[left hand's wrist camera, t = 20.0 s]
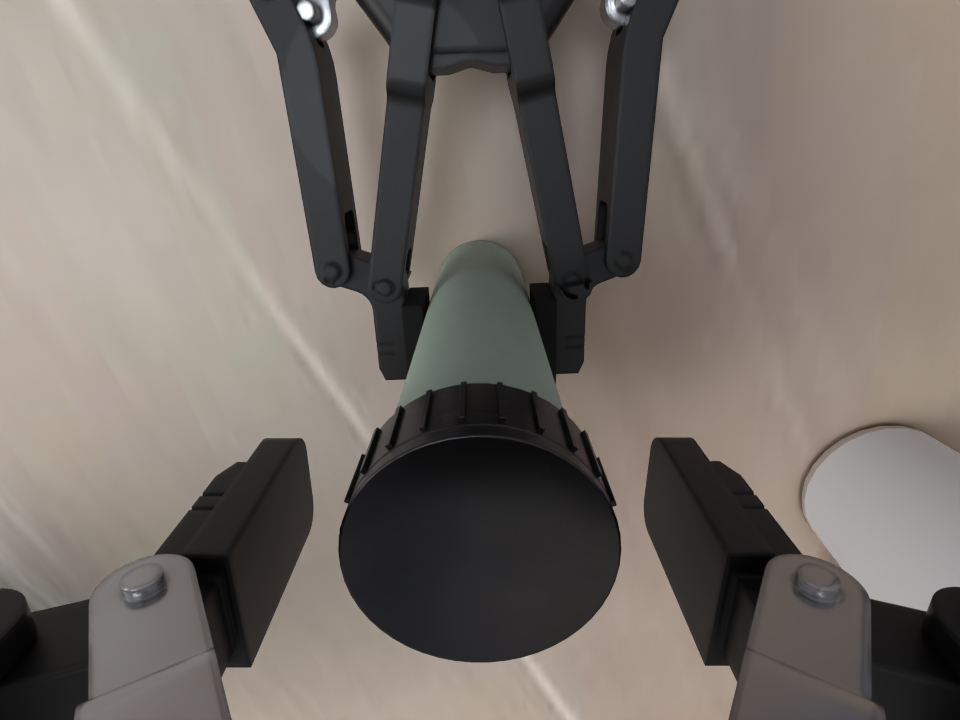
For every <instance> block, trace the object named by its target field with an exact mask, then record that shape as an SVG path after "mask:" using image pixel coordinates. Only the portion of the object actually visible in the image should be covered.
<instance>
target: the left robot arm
mask: <svg viewBox="0 0 960 720" xmlns="http://www.w3.org/2000/svg"><path fill="white" fill-rule="evenodd" d="M644 517H645V523H646V528H647V531H648V533H649V536H650V538H651V540H652V543H653V545H654V547H655V550H656V552H657V554H658V557H659V559H660V561H661V564H662V566H663V568H664V571H665V573H666V575H667V578H668V580H669V582H670V585H671V587H672V589H673V592H674V594H675V596H676V599H677V601H678V603H679V606H680V608H681V610H682V613H683V615H684V617H685V620H686V622H687V624H688V627H689V629H690V632H691V634H692V636H693V639H694V641H695V643H696V646H697V648H698V650H699V653H700V655H701V657H702V660H703V662H704V664H705V666H730V668H731V670H732V672H733V674H734V676H735V678H736V680H737V682H738V683H737V687H736V691H735V695H734V699H733V703H732V707H731V712H730V716H729V720H960V587H946V588H942V589H940V590H938V591H936V592H935V593H934V595H933V596H932V599H931V602H930V604H929V607H928V610H927V611H922V610H918V609H913V608H909V607H905V606H900V605H896V604H891V603H887V602H882V601H878V600H874V599H870V598H869V595H868V593H867V592H866V590H865V589H864V587H863V586H862V585H861V584H860V583H859V582H858V581H857V580H856V579H855V578H854V577H853V576H851V575H850V574H849V573H847V572H846V571H844V570H843V569H841V568H839V567H837V566H836V565H833V564H831V563H829V562H827V561H824V560H822V559H819V558H815V557H812V556H807V555H802V554H801V552H800V551H799V550H798V549H797V547H796V546H795V545H794V543H793V542H792V541H791V540H790V538H789V537H788V536H787V534H786V533H785V532H784V531H783V529H782V528H781V527H780V525H779V524H778V523H777V521H776V520H775V519H774V518H773V516H772V515H771V514H770V512H769V511H768V510H767V509H764V505H763V503H762V502H761V501H760V500H759V498H758V497H757V496H756V495H754V492H753V491H752V489H751V488H750V487H749V485H748V484H747V483H746V482H745V480H744V479H743V478H742V476H741V475H739V474H738V473H736V472H735V471H733V470H732V469H730V468H729V467H727V466H726V465H724V464H723V463H721V462H720V461H709V459H708V458H707V457H706V455H705V454H704V452H703V451H702V450H701V448H700V447H699V445H698V444H697V443H696V441H695V440H694V439H693V438H655V439H654V440H653V442H652V445H651V450H650V458H649V466H648V473H647V481H646V489H645V497H644ZM312 520H313V496H312V488H311V481H310V473H309V465H308V458H307V450H306V445H305V442H304V441H303V439H301V438H266V439H264V440H263V441H262V442H261V443H260V445H259V446H258V447H257V449H256V450H255V451H254V453H253V454H252V456H251V457H250V458H249V460H248V461H247V462H237V463H235V464H234V465H232V466H231V467H229V468H228V469H226V470H225V471H223V472H222V473H220V474H219V475H217V476H216V477H215V478H214V479H213V481H212V482H211V483H210V484H209V486H208V487H207V488H206V490H205V491H204V492H203V496H200V497H199V498H198V500H197V501H196V502H195V504H194V505H193V506H192V510H189V511H188V512H187V514H186V515H185V516H184V518H183V519H182V520H181V521H180V523H179V524H178V525H177V527H176V528H175V529H174V530H173V532H172V533H171V534H170V535H169V537H168V538H167V539H166V541H165V542H164V543H163V544H162V546H161V547H160V548H159V550H158V551H157V552H156V553H155V555H153V556H148V557H145V558H141V559H138V560H136V561H133V562H131V563H129V564H127V565H124V566H123V567H121V568H119V569H117V570H116V571H114V572H113V573H111V574H110V575H109V576H107V577H106V578H105V579H104V580H103V581H102V582H101V583H100V584H99V585H98V586H97V587H96V589H95V590H94V592H93V593H92V595H91V598H90V599H88V600H84V601H80V602H76V603H72V604H67V605H63V606H58V607H54V608H49V609H45V610H40V611H36V612H32V613H31V612H30V609H29V606H28V604H27V601H26V599H25V597H24V595H23V594H22V593H20V592H18V591H16V590H12V589H0V720H231V716H230V712H229V707H228V703H227V699H226V695H225V691H224V687H223V683H222V678H221V677H222V675H223V673H224V671H225V669H226V667H251V666H252V664H253V661H254V659H255V657H256V655H257V652H258V650H259V648H260V645H261V643H262V641H263V638H264V636H265V634H266V631H267V629H268V627H269V625H270V622H271V620H272V618H273V615H274V613H275V611H276V608H277V606H278V604H279V602H280V599H281V597H282V595H283V592H284V590H285V588H286V585H287V583H288V581H289V578H290V576H291V574H292V572H293V569H294V567H295V565H296V562H297V560H298V558H299V555H300V553H301V551H302V549H303V546H304V544H305V542H306V539H307V537H308V535H309V532H310V529H311V525H312Z"/></svg>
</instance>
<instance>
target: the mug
mask: <svg viewBox="0 0 960 720" xmlns="http://www.w3.org/2000/svg"><path fill="white" fill-rule="evenodd" d="M802 508H803V514H804V516H805V518H806V520H807V522H808V524H809V526H810V527H811V528H812V530H813V531H814V532H815V534H816V535H817V536H818V538H819V539H820V540H821V542H822V543H823V544H824V546H825V547H826V548H827V550H828V551H829V552H830V553H831V555H832V556H833V557H834V559H835V560H836V561H837V563H838V564H839V565H840V567H841V568H842V569H843V570H844V571H846V572H847V573H849V574H850V575H851V576H853V577H854V578H855V579H856V580H857V581H858V582H859V583H860V584H861V585H862V586H863V587H864V589H865V590H866V592H867V593H868V595H869V598H870V599H874V600H878V601H882V602H887V603H891V604H896V605H900V606H905V607H909V608H913V609H918V610H922V611H927V610H928V607H929V604H930V602H931V599H932V596H933V595H934V593H935V592H936V591H938V590H940V589H942V588H946V587H960V453H958V452H956V451H955V450H953V449H951V448H949V447H948V446H946V445H944V444H943V443H941V442H939V441H938V440H936V439H934V438H933V437H931V436H929V435H928V434H926V433H924V432H922V431H921V430H918V429H914V428H909V427H905V426H877V427H873V428H869V429H865V430H860V431H858V432H856V433H853V434H851V435H849V436H847V437H845V438H843V439H841V440H839V441H838V442H837V443H835V444H834V445H833V446H831V447H830V448H829V449H827V450H826V451H825V452H824V453H823V454H822V455H821V456H820V457H819V459H818V460H817V461H816V462H815V463H814V464H813V466H812V468H811V470H810V471H809V473H808V475H807V477H806V479H805V482H804V487H803V491H802Z"/></svg>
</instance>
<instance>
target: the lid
mask: <svg viewBox="0 0 960 720" xmlns="http://www.w3.org/2000/svg"><path fill="white" fill-rule="evenodd" d="M344 502H345V503H349V504H348V507H347V509H346V512H345V515H344V518H343V520H342V524H341V527H340V534H339V550H338V551H339V560H340V567H341V570H342V574H343V577H344V581H345V583H346V585H347V588H348V590H349V592H350V594H351V596H352V598H353V599H354V601H355V602H356V604H357V605H358V607H359V608H360V609H361V611H362V612H363V613H364V614H365V615H366V616H367V617H368V619H369V620H370V621H372V622H373V623H374V624H375V625H376V626H377V627H378V628H379V629H380V630H382V631H383V632H385V633H386V634H387V635H389V636H390V637H392V638H393V639H395V640H397V641H398V642H400V643H402V644H404V645H406V646H408V647H410V648H412V649H415V650H417V651H420V652H422V653H425V654H428V655H432V656H435V657H438V658H443V659H448V660H453V661H462V662H497V661H506V660H511V659H516V658H521V657H525V656H528V655H531V654H535V653H538V652H540V651H543V650H545V649H547V648H550V647H552V646H554V645H556V644H558V643H559V642H561V641H563V640H565V639H567V638H568V637H570V636H571V635H572V634H574V633H575V632H576V631H578V630H579V629H581V628H582V627H583V626H584V625H585V624H586V623H587V622H588V621H589V620H590V619H591V618H592V617H593V616H594V615H595V614H596V612H597V611H598V610H599V609H600V608H601V606H602V605H603V603H604V602H605V600H606V599H607V597H608V595H609V594H610V591H611V589H612V587H613V585H614V582H615V580H616V576H617V573H618V569H619V565H620V557H621V537H620V531H619V527H618V522H617V519H616V516H615V513H614V510H613V508H612V507H613V506H616V502H615V499H614V496H613V493H612V491H611V488H610V485H609V483H608V480H607V477H606V475H605V472H604V470H603V467H602V464H601V462H600V459H599V457H598V458H596V456H595V453H594V450H593V448H592V445H591V442H590V439H589V437H588V434H587V432H586V431H585V430H584V431H582V432H581V431H580V429H579V428H578V427H577V426H576V424H575V423H574V422H573V421H572V420H571V419H570V418H569V417H568V415H567V412H566V410H565V409H564V408H561V409H559V408H557V407H556V406H554V405H553V404H551V403H550V402H548V401H546V400H545V399H543V398H541V397H539V396H538V395H537V392H535V391H531V393H530V392H527V391H524V390H522V389H518V388H514V387H510V386H506V385H503V382H497V384H491V383H468V384H467V381H464V382H461V384H460V385H453V386H449V387H445V388H441V389H438V390H435V391H432V389H430V390H428V391H426V394H425V395H423V396H421V397H419V398H417V399H415V400H413V401H411V402H410V403H408V404H407V405H405V406H404V407H402V406H401V405H400V406H399V407H397V408H396V412H395V414H394V415H393V416H392V417H391V418H390V419H389V420H388V421H387V422H386V423H385V424H384V425H383V426H382V428H381V429H379V428H376V429H375V431H374V433H373V436H372V438H371V441H370V444H369V447H368V449H367V452H366V455H364V454H362V455H361V458H360V460H359V463H358V466H357V468H356V471H355V474H354V476H353V479H352V482H351V484H350V487H349V490H348V492H347V495H346V498H345V500H344Z"/></svg>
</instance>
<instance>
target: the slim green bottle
mask: <svg viewBox="0 0 960 720" xmlns="http://www.w3.org/2000/svg"><path fill="white" fill-rule="evenodd" d="M464 381H467V384H468V383H491V384H497V382H503V385H506V386H510V387H514V388H518V389H522V390H524V391H527V392H530V393H531V391H535V392H537V395H538V396H539V397H541V398H543V399H545V400H546V401H548V402H550V403H551V404H553V405H554V406H556V407H557V408H559V409H561V408H563V407H562V404H561V401H560V397H559V394H558V391H557V388H556V385H555V381H554V378H553V375H552V372H551V368H550V365H549V362H548V359H547V356H546V352H545V349H544V346H543V343H542V339H541V336H540V333H539V330H538V326H537V323H536V320H535V317H534V314H533V310H532V307H531V304H530V301H529V297H528V294H527V291H526V288H525V285H524V281H523V278H522V275H521V272H520V269H519V266H518V264H517V262H516V260H515V259H514V257H513V256H512V255H511V254H510V253H509V252H508V251H507V250H506V249H505V248H503V247H502V246H500V245H498V244H495V243H493V242H489V241H471V242H467V243H465V244H462V245H460V246H459V247H457V248H455V249H454V250H453V251H452V252H451V253H450V254H449V255H448V256H447V257H446V259H445V260H444V262H443V264H442V266H441V269H440V272H439V275H438V278H437V281H436V285H435V288H434V291H433V294H432V297H431V301H430V304H429V307H428V310H427V313H426V317H425V320H424V323H423V326H422V329H421V333H420V336H419V339H418V342H417V346H416V349H415V352H414V355H413V358H412V362H411V365H410V368H409V371H408V374H407V378H406V381H405V384H404V387H403V390H402V394H401V397H400V400H399V403H398V406H397V407H399V406H400V405H401V406H402V407H404V406H405V405H407V404H408V403H410V402H411V401H413V400H415V399H417V398H419V397H421V396H423V395H425V394H426V391H428V390H430V389H432V391H435V390H438V389H441V388H445V387H449V386H453V385H460V384H461V382H464Z"/></svg>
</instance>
